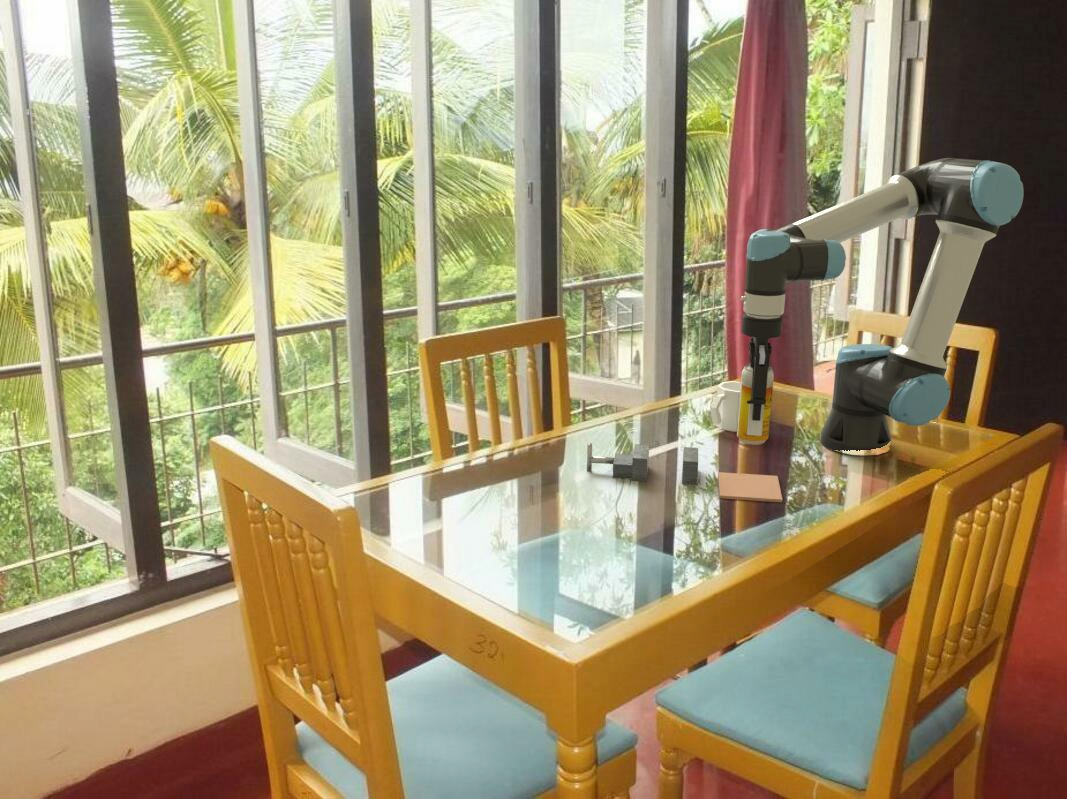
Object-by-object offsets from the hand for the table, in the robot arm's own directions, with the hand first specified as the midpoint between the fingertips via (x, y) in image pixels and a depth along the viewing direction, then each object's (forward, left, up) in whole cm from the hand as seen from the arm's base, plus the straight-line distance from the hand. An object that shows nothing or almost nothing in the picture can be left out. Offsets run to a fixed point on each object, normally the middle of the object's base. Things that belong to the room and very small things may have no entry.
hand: (753, 428), depth 186 cm
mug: (+3, -36, -13) cm, 38 cm away
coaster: (0, 0, -13) cm, 13 cm away
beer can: (0, 0, -3) cm, 3 cm away
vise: (+22, -4, -13) cm, 25 cm away
